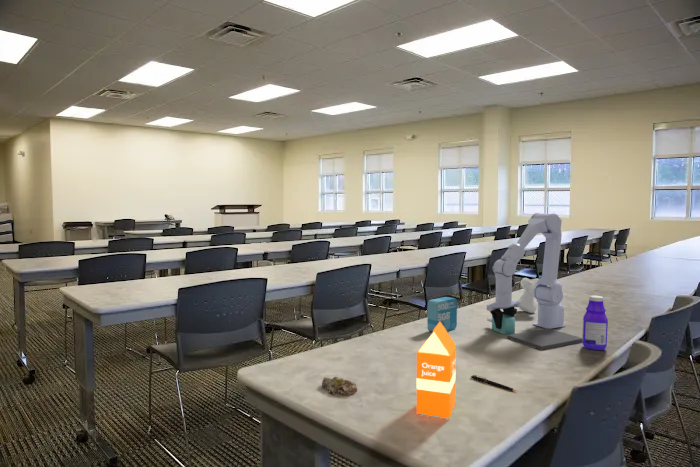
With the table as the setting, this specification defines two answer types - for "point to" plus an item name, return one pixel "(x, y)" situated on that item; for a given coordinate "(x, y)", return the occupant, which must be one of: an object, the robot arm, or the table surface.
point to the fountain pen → (491, 383)
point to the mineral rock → (339, 386)
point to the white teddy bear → (528, 295)
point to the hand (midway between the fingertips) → (503, 327)
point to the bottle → (595, 324)
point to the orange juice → (436, 374)
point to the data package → (442, 313)
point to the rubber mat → (545, 338)
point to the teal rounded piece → (504, 325)
